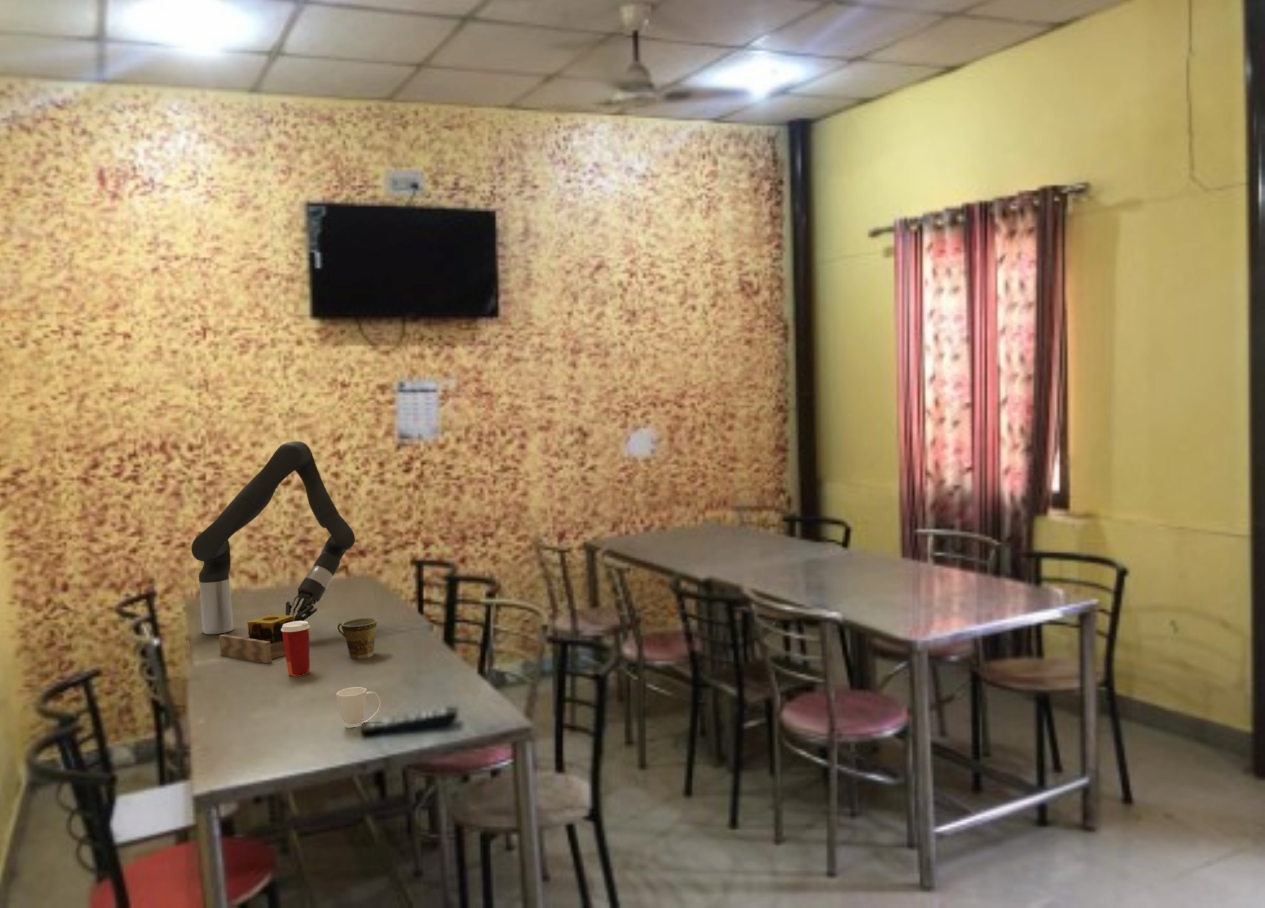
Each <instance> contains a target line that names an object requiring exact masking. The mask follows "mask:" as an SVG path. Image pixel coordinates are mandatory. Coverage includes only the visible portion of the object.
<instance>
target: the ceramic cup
mask: <svg viewBox="0 0 1265 908" xmlns="http://www.w3.org/2000/svg"><path fill="white" fill-rule="evenodd" d="M377 622H378V620H377V619H375V618H373V617H372V618H370V617H369V618H368V617H366V618H365V617H364V618H363V617H362V618H353V619H350V620H346V621H344V622H340V623H338V624H337V630H338V631H337V632H338V633H340V634H341V635H342V636H343V637H344V639H345V642H346V645H347V646H346V647H347V649H348V654H349V657H350V659H353V658H354V659H355V658H356V659H355V660H361V659H367V658H370V657H373V656H374V651H375V650H374V647H375V642H376V641H375V640H376V631H377ZM340 626H341V629H342V630H341V629H340ZM360 658H361V659H360Z"/></svg>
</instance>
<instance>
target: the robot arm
mask: <svg viewBox="0 0 1265 908" xmlns="http://www.w3.org/2000/svg"><path fill="white" fill-rule="evenodd" d="M294 471H295V473H296V474H297V475H298V476H299V478H300V479H301V481H302V483H303V486H304V489H305V492H306V496H307V501H308V506H309V507H310V509H311V511H312V514H313V515H314V518H315V519H316V520H317V522H318V524H319V526H320V527H321V528H322V529H323V528H324V529H326V530H327V532H328V533H329V535H330V536H329V537H328V539H327V540H326V542H325V544H324V546H323V548H322V550H321V552H320V555H319V556H318V557H317V559H316V561H315V562H314V564H313V566H311V568H310V569H309V570H308V572H307V573H306V575H305V577H304V579H303V580H302V582H301V584H300V585H299V586H298V588H297V595H296V596H295V597H294V599H293V601H291V602H290V601H287V602H285V615H290V616H294V619H295V620H294V621H306V619H308V618H309V617H311V616H312V615H313V614H315V613H316V612H317V611H318V608H317V607H316V606H315V605H316V603H318V602H320V600H321V599H322V597H323V595H324V593H325V592H326V591H327V588H329V585H330V583H331V581H332V580H333V578H334V575H335V574H336V572H337V570H338V569H339V567H340V563H341V562H340V561H341V560H342V558H343V556H344V555H345V553H347V551H348V550H349V549H351V548H353V546H354V545H355V543H356V537H355V533H354V531H353V530H352V528H351V526H350V525H349V524H348V523H347V521H346V520H345V519H344V518H343V517H342V516H341V514H340V513H339V511H338V510H337V509H338V508H337V507H336V505H335V503H334V501H333V500H332V498H331V496H330V494H329V493H328V490H327V488H326V487H325V484H324V482H323V479H322V476H321V474H320V472H319V469H318V467H317V463H316V461H315V457H314V456H313V453H312V451H311V448H310V447H309V445H308V444H307V443H305V442H303V441H300V440H299V441H298V440H297V441H289V442H285V443H283V444H281V445H280V446H279V447H278V448H277V449H275V452H273V455H271V457H270V458H269V460H268V462H266V464H265V465H264V467H263V468H262V469H261V470H260V471H259V472H258V473H257V474H256V475H255V476H254V477H252V479H251V480H250V481H249V482H248V483H247V484H246V485H245V486H244V487H243V488H242V489H241V490H240V491H239V492H238V493H237V494H236V495H235V497H234V498H233V499H232V501H230V503H228V505H227V506H226V507H225V508H224V509H223V511H222V512H221V513H220V514H219V516H218V517H216V519H215V520H214V521H213V522H212V523H210V525H209V526H208V527H206V528H205V529H203V531H202V532H201V533H199V534H198V535H197V536H196V537H195V538H194V540H193V542H191V543H192V544H191V555H192V556H193V558H194V559H195V560H197V561H199V562H203V566H202V568H201V570H200V571H199V573H198V581H199V582H198V583H199V594H200V596H199V597H200V604H199V607H200V608H199V609H200V610H199V611H200V621H201V632H203V634H205V635H219V634H220V635H221V634H223V633H224V634H226V633H229V632H232V631H233V630H234V622H233V621H234V619H233V609H232V608H233V607H232V599H231V598H232V596H231V585H230V571H231V563H232V562H231V545H230V541H229V539H230V538H232V536H233V535H234V534H235V533H237V532H238V531H240V530H241V529H243V528H245V526H247V525H248V524H250V522H252V521H253V520H254V519H256V518H257V517H258V515H260V514H261V513H262V511H264V509H266V507H267V506H268V505H269V504H270V502H271V500H272V499H273V496H274V494H275V492H276V489H277V488H278V487H279V485H280V484H281V483H282V482H283V481H284V480H285V479H286V478H288V476H289V475H290V474H292V473H293V472H294Z"/></svg>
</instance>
